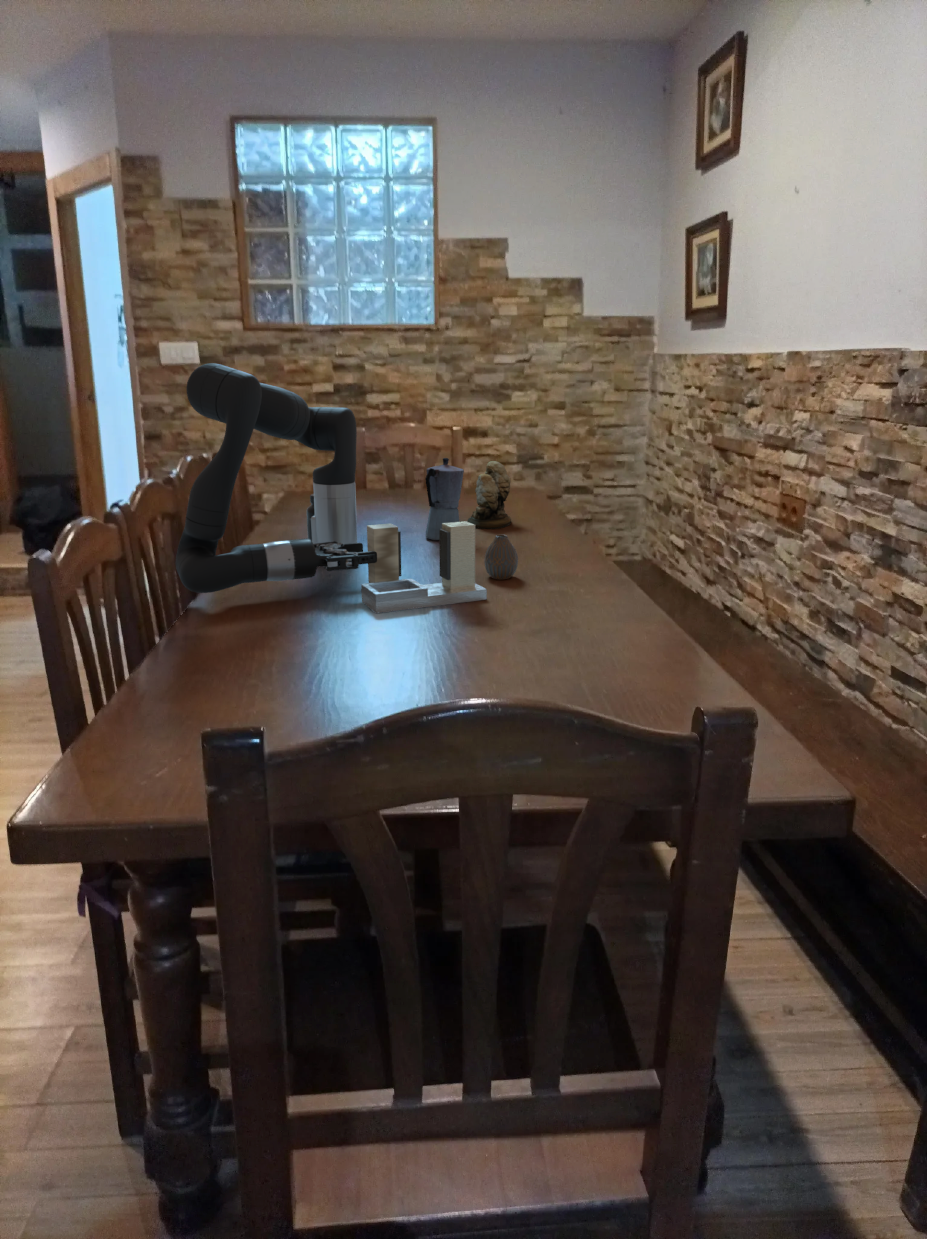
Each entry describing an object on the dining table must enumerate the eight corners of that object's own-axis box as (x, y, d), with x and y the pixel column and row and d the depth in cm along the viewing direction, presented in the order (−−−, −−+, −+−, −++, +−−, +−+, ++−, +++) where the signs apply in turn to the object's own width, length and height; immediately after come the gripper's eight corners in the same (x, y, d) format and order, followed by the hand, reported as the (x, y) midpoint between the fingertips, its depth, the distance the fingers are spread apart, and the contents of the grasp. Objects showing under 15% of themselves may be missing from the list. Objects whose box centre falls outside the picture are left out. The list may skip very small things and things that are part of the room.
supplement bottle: (302, 544, 210) (299, 494, 207) (324, 539, 215) (322, 491, 212) (319, 548, 206) (317, 497, 202) (342, 543, 211) (340, 494, 207)
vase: (515, 582, 176) (515, 539, 173) (481, 580, 177) (481, 538, 174) (519, 574, 182) (520, 533, 179) (487, 572, 183) (487, 531, 181)
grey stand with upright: (376, 613, 154) (374, 536, 150) (361, 602, 161) (359, 528, 157) (486, 599, 163) (487, 526, 159) (468, 589, 170) (468, 518, 166)
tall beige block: (375, 589, 170) (373, 529, 166) (368, 584, 173) (366, 525, 170) (401, 586, 172) (400, 526, 169) (394, 581, 176) (393, 523, 172)
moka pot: (473, 535, 221) (473, 456, 216) (446, 546, 208) (446, 462, 202) (439, 531, 225) (439, 454, 219) (411, 543, 212) (410, 460, 206)
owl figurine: (474, 517, 247) (475, 456, 242) (515, 518, 245) (516, 458, 240) (462, 528, 230) (463, 463, 225) (506, 530, 228) (508, 465, 223)
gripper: (296, 547, 156) (381, 540, 162) (277, 533, 168) (357, 527, 175) (298, 588, 158) (382, 578, 164) (279, 571, 170) (358, 563, 177)
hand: (369, 552), depth 170 cm, fingers open, 8 cm apart
